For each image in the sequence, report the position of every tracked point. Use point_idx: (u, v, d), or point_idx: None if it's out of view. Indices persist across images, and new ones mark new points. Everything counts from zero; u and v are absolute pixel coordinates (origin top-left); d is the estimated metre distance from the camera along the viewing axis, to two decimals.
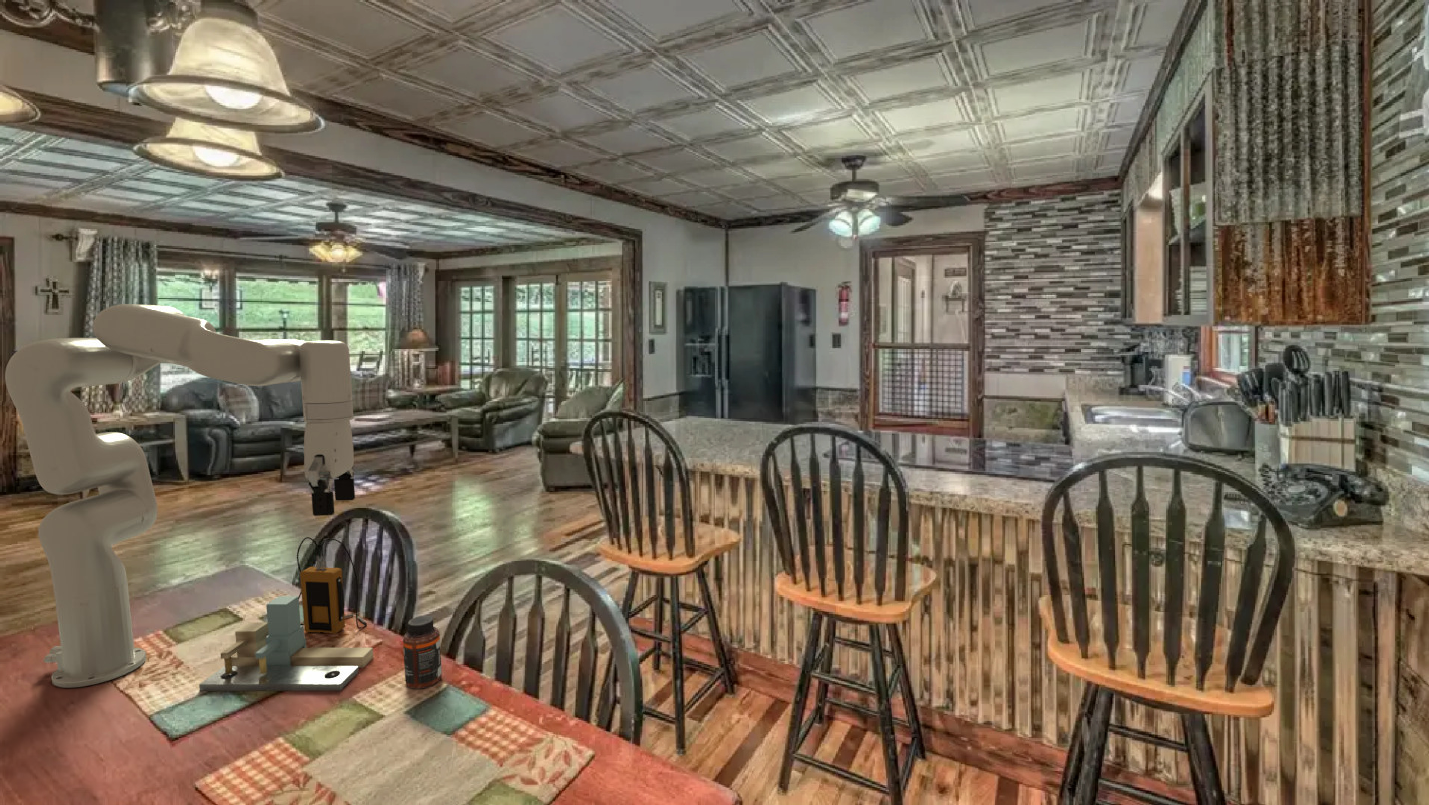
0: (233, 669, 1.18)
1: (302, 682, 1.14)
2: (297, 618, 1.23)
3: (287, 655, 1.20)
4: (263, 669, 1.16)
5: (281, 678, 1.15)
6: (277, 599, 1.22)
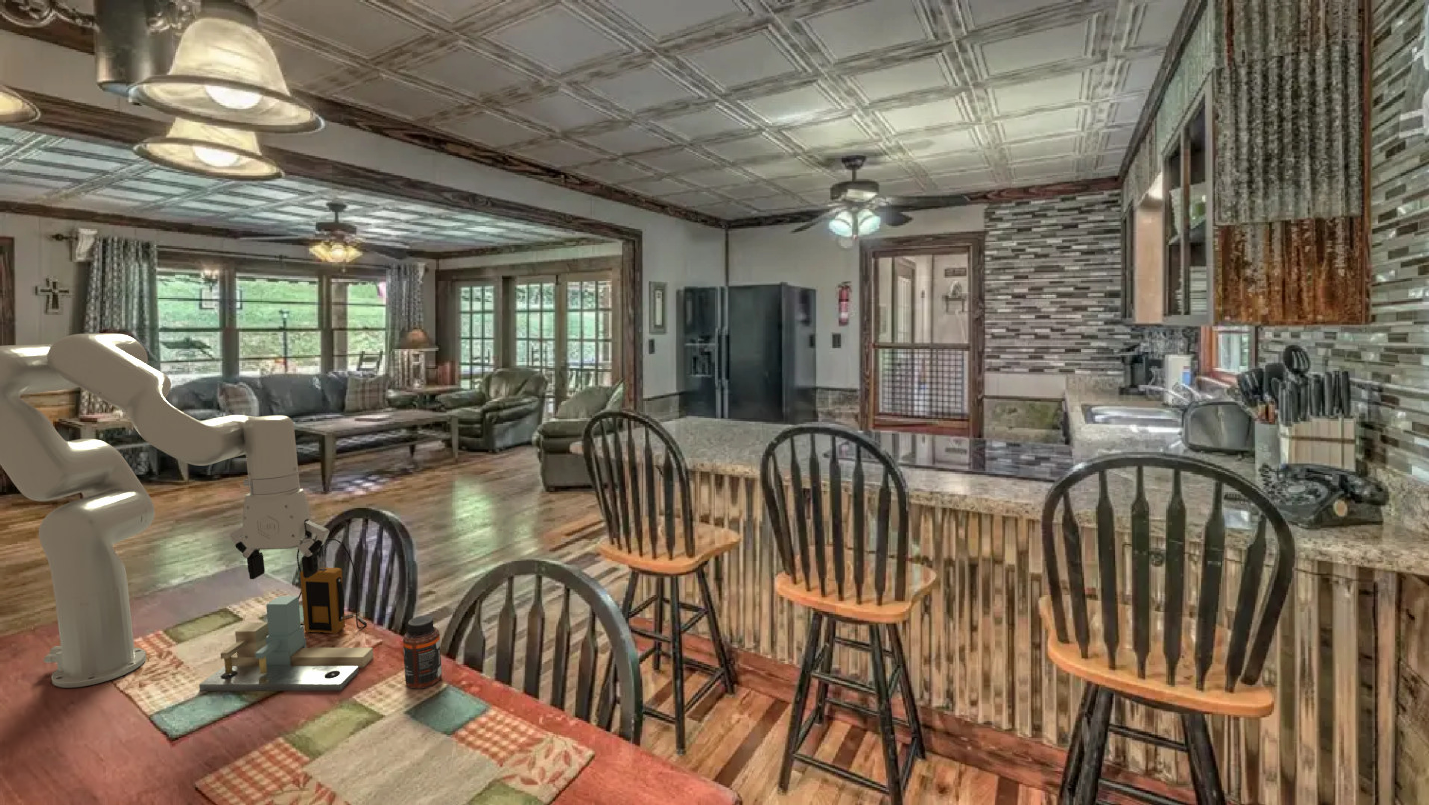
0: (233, 669, 1.18)
1: (302, 682, 1.14)
2: (297, 618, 1.23)
3: (287, 655, 1.20)
4: (263, 669, 1.16)
5: (281, 678, 1.15)
6: (277, 599, 1.22)
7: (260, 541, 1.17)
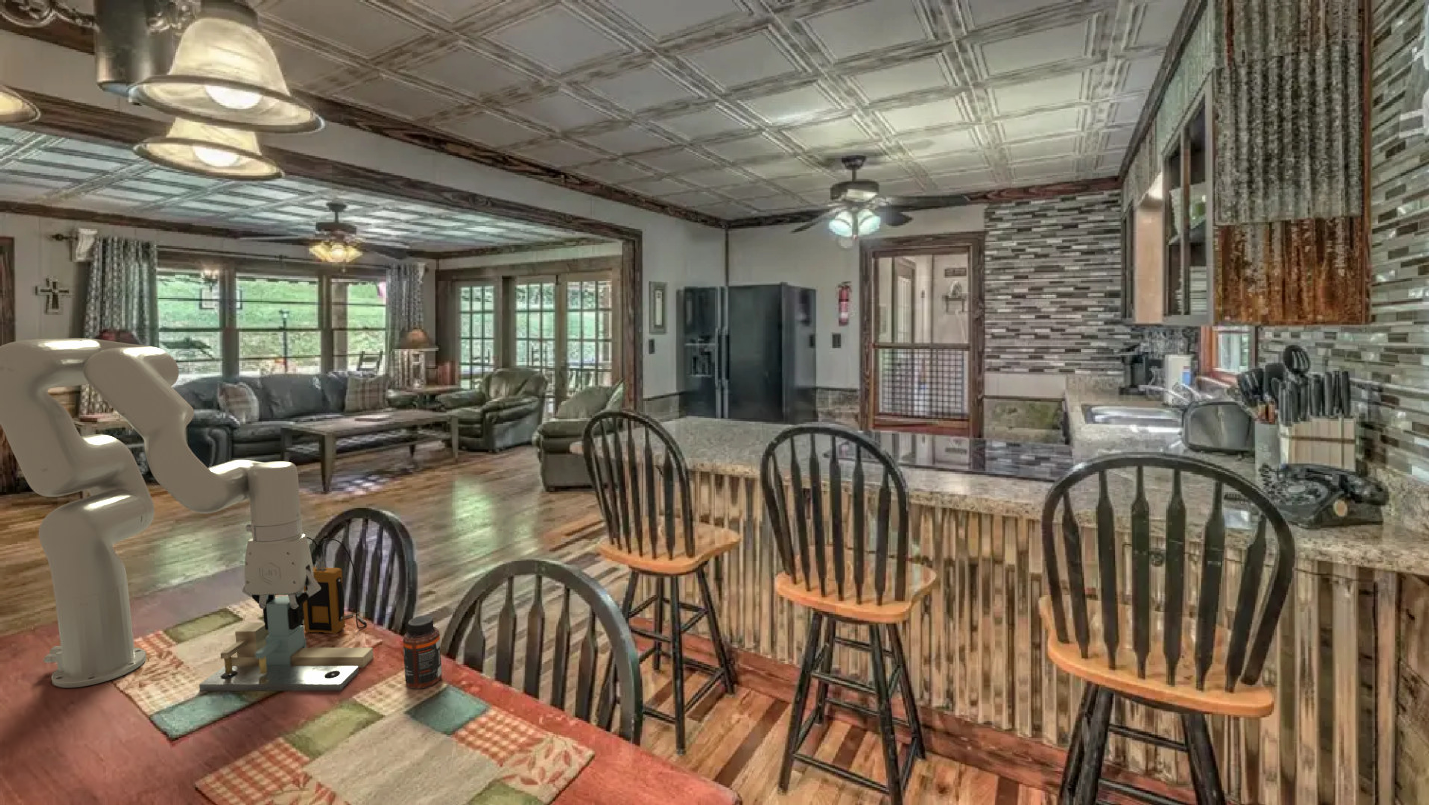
0: (233, 669, 1.18)
1: (302, 682, 1.14)
2: None
3: (287, 655, 1.20)
4: (263, 669, 1.16)
5: (281, 678, 1.15)
6: (277, 599, 1.22)
7: (261, 587, 1.18)
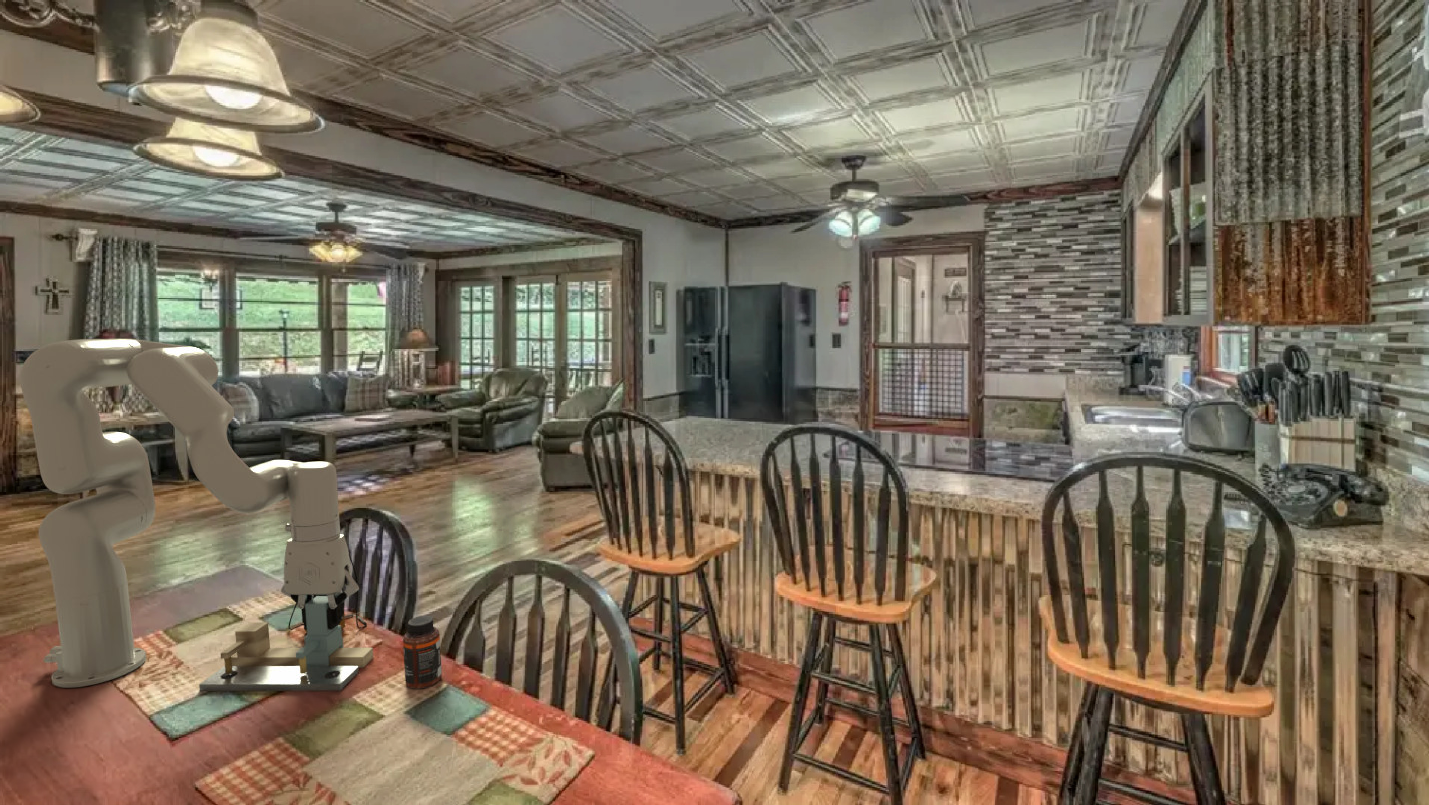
0: (233, 669, 1.18)
1: (302, 682, 1.14)
2: None
3: (326, 655, 1.20)
4: (303, 669, 1.16)
5: (281, 678, 1.15)
6: (316, 599, 1.22)
7: (301, 587, 1.19)
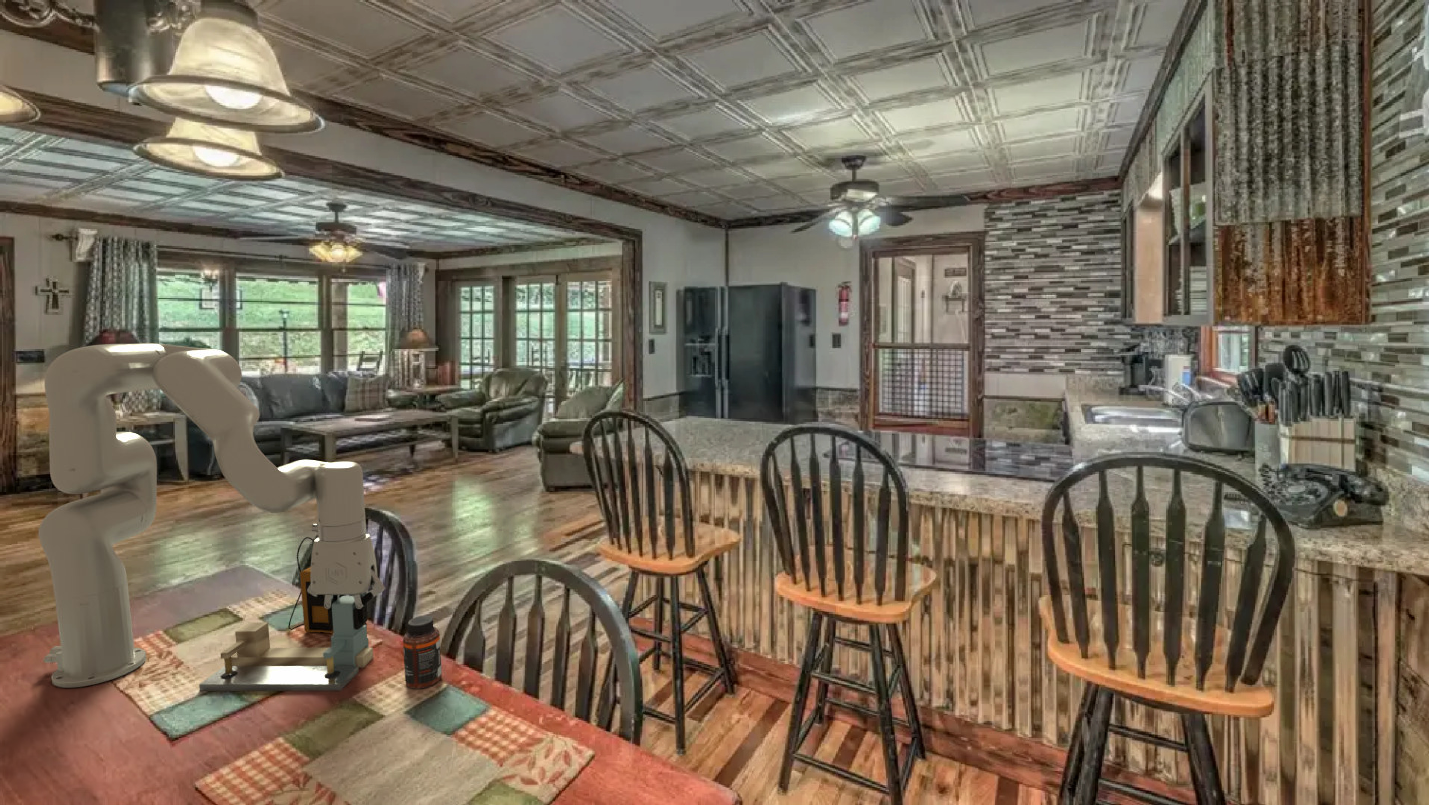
0: (233, 669, 1.18)
1: (302, 682, 1.14)
2: None
3: (352, 655, 1.20)
4: (331, 669, 1.16)
5: (281, 678, 1.15)
6: (342, 599, 1.22)
7: (327, 587, 1.19)
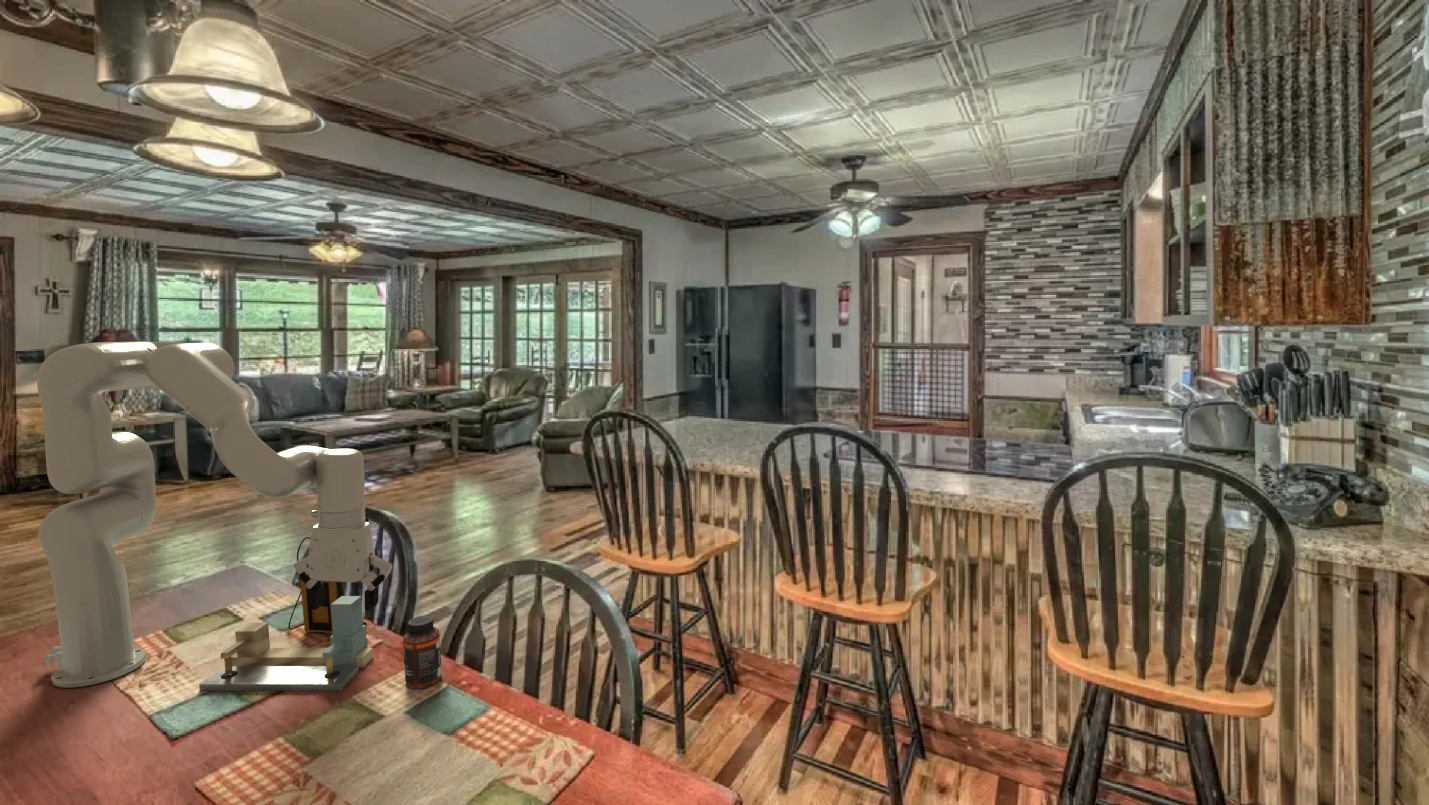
0: (233, 669, 1.18)
1: (302, 682, 1.14)
2: (360, 617, 1.23)
3: (351, 655, 1.20)
4: (330, 669, 1.16)
5: (281, 678, 1.15)
6: (341, 599, 1.22)
7: (325, 573, 1.18)
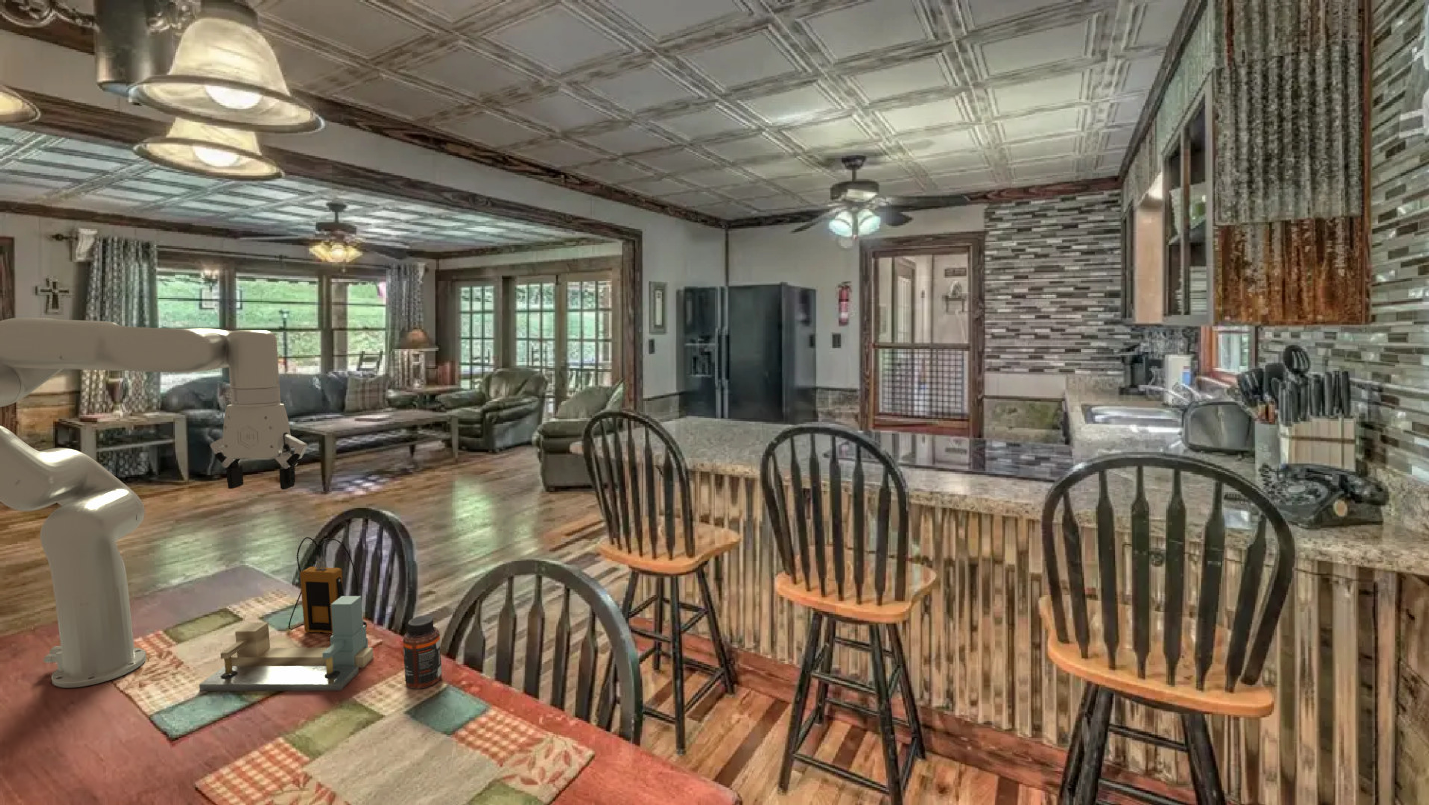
0: (233, 669, 1.18)
1: (302, 682, 1.14)
2: (360, 617, 1.23)
3: (351, 655, 1.20)
4: (330, 669, 1.16)
5: (281, 678, 1.15)
6: (341, 599, 1.22)
7: (239, 450, 1.21)
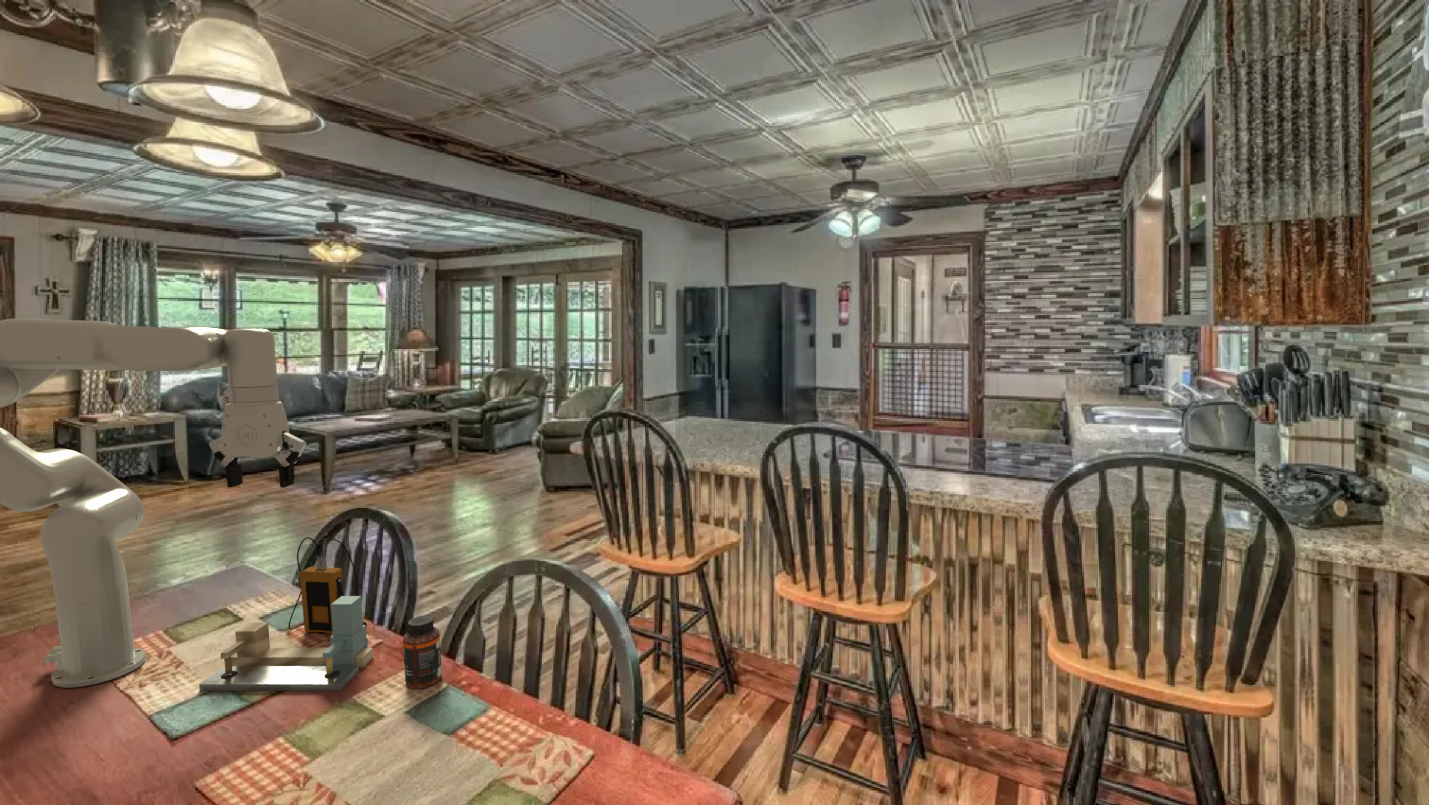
0: (233, 669, 1.18)
1: (302, 682, 1.14)
2: (360, 617, 1.23)
3: (351, 655, 1.20)
4: (330, 669, 1.16)
5: (281, 678, 1.15)
6: (341, 599, 1.22)
7: (238, 449, 1.21)
